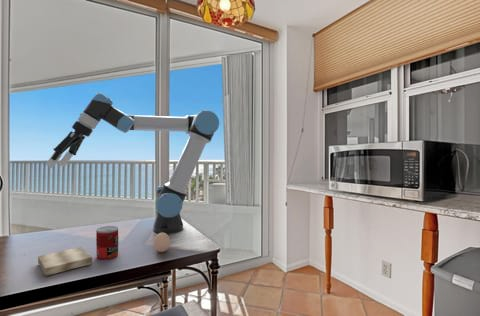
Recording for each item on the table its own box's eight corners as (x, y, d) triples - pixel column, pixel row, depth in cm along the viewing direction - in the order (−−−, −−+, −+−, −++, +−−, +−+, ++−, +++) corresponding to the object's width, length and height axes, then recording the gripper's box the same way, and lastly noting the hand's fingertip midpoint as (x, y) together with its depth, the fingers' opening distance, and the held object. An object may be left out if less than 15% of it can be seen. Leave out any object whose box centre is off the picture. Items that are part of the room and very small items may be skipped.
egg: (172, 248, 117) (172, 230, 117) (167, 254, 110) (167, 235, 110) (156, 248, 117) (156, 230, 117) (151, 254, 111) (151, 235, 110)
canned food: (110, 261, 104) (109, 232, 103) (91, 259, 105) (91, 230, 105) (122, 253, 111) (122, 226, 111) (105, 251, 113) (105, 225, 113)
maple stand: (81, 254, 110) (81, 246, 110) (92, 265, 100) (92, 257, 100) (38, 264, 100) (37, 256, 100) (45, 277, 90) (45, 268, 90)
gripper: (85, 123, 132) (58, 160, 129) (67, 115, 108) (33, 161, 105) (99, 132, 133) (73, 169, 130) (85, 126, 109) (52, 172, 106)
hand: (55, 166), depth 118 cm, fingers open, 13 cm apart
